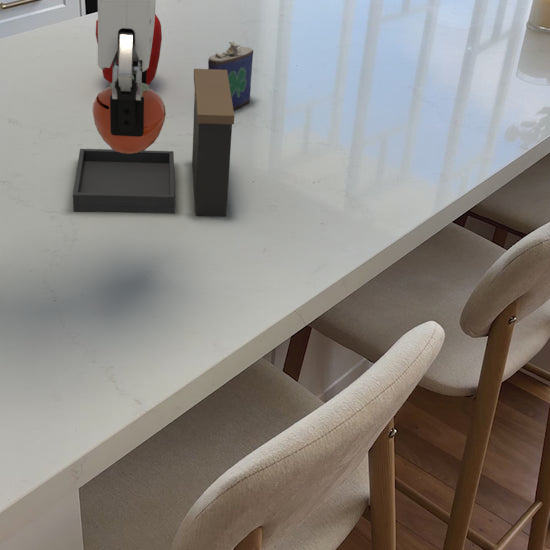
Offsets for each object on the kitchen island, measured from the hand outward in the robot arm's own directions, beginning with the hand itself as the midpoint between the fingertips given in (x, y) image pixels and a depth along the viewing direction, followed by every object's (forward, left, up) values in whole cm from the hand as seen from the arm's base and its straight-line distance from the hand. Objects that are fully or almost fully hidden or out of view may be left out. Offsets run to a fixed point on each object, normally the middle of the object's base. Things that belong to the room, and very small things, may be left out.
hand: (129, 116), depth 91 cm
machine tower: (+10, +20, -20) cm, 30 cm away
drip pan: (-1, +20, -20) cm, 28 cm away
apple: (-2, +54, -20) cm, 58 cm away
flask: (+14, +47, -20) cm, 53 cm away
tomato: (0, 0, -4) cm, 4 cm away
